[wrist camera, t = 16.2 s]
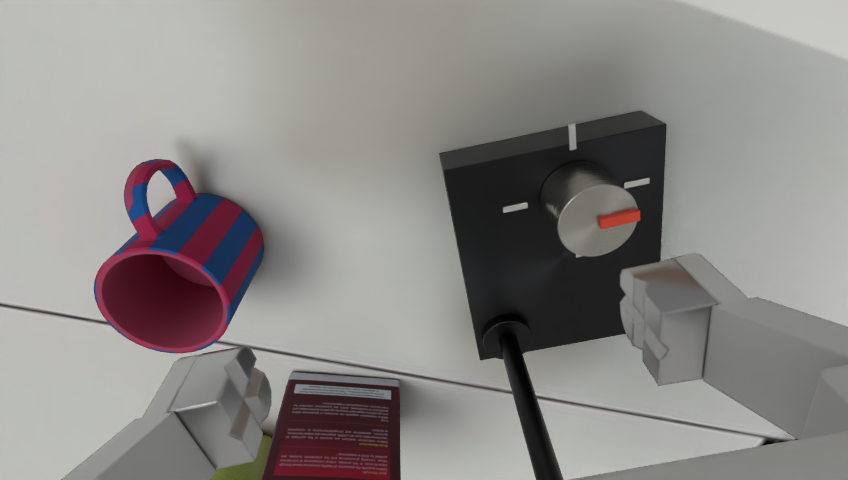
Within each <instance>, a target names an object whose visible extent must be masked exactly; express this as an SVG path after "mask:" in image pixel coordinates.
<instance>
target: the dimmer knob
mask: <svg viewBox="0 0 848 480" xmlns="http://www.w3.org/2000/svg"><path fill="white" fill-rule="evenodd" d="M540 205H541V209H542V212H543V213H544V215H545V217H546V218H547V220H548V222H549V223H550V225H551V226H552V228H553V230H554V231H555V233H556V234H557V236H558V238H559V239H560V241H561V242H562V244H563V245H564V246H565V247H566V248H567V249H568V250H569V251H571V252H572V253H575V254H577V255H580V256H586V257H594V256H600V255H604V254H607V253H609V252H612V251H613V250H615V249H617V248H618V247H620V246H621V245H622V244H623V243H624V242H625V241H626V240H627V239H628V238H629V237H630V236H631V234H632V232H633V231H634V229H635V226H636V223H637V221H640V210H639V209H638V208H637V204H636V202H635V199H634V198H633V196H632V195H631V194H630V193H629V192H628V191H627V190H626V189H625V188H623V187H622V186H621V185H620V184H619V183H618V182H617V181H616V180H615V179H614V178H612V177H611V176H610V175H609V174H608V173H607V172H606V171H605V170H604V169H603V168H601V167H600V166H598V165H597V164H594V163H592V162H587V161H576V162H571V163H568V164H566V165H563V166H561V167H560V168H558V169H557V170H555V171H554V172H553V173H552V174H551V175H550V176H549V177H548V178H547V180H546V181H545V183H544V185H543V187H542V190H541V194H540Z"/></svg>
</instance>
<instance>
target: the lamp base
mask: <svg viewBox="0 0 848 480" xmlns="http://www.w3.org/2000/svg"><path fill="white" fill-rule="evenodd" d="M665 145H666V124H665V123H664V122H662V121H660V120H658V119H656V118H654V117H652V116H650V115H648V114H646V113H644V112H642V111H638V112H633V113H628V114H624V115H619V116H614V117H609V118H605V119H600V120H595V121H591V122H586V123H581V124H576V125H575V123H571V124H568V126H567V127H562V128H557V129H553V130H548V131H543V132H539V133H534V134H529V135H524V136H520V137H515V138H510V139H505V140H501V141H496V142H491V143H487V144H482V145H477V146H472V147H468V148H463V149H458V150H453V151H449V152H444V153H440V154H439V155H440V160H441V165H442V171H443V176H444V181H445V186H446V191H447V196H448V201H449V206H450V211H451V216H452V221H453V226H454V232H455V237H456V242H457V247H458V252H459V257H460V262H461V267H462V272H463V277H464V282H465V287H466V293H467V298H468V303H469V308H470V313H471V318H472V323H473V328H474V333H475V338H476V343H477V348H478V352H479V357H480V360H484V359H490V358H495V357H493V356H491V355H490V354H489V353H488V352H487V351H486V350H485V348H484V345H483V340H482V331H483V328H484V326H485V325H486V324H487V323H488V322H489V321H490V320H491V319H493V318H494V317H496V316H499V315H503V314H514V315H518V316H520V317H522V318H523V319H525V320H526V321H527V323H528V324H529V327H530V329H531V332H532V336H533V339H532V343H531V346H530V347H529V349H528V350H527V351H526V352H528V351H534V350H539V349H545V348H550V347H555V346H561V345H566V344H572V343H577V342H583V341H588V340H594V339H599V338H605V337H610V336H616V335H621V334H626V332H625V330H624V327H623V323H622V319H621V315H620V302H621V300H622V299H623V298H624V296H625V295H626V294H625V292H624V291H623V290H622V288H621V287H620V274H621V270H622V269H627V268H631V267H636V266H641V265H646V264H651V263H655V262H660V254H661V232H662V211H663V189H664V167H665ZM576 161H587V162H592V163H594V164H597V165H598V166H600V167H601V168H603V169H604V170H605V171H606V172H607V173H608V174H609V175H610V176H611V177H612V178H614V179H615V180H616V181H617V182H618V183H619V184H620V185H621V186H622V187H623V188H625V189H626V190H627V191H628V192H629V193H630V194H631V195H632V196H633V198H634V199H635V202H636V204H637V208H638V209H639V210H640V221H637V223H636V226H635V229H634V231H633V232H632V234H631V236H630V237H629V238H628V239H627V240H626V241H625V242H624V243H623V244H622V245H621V246H620V247H618V248H617V249H615V250H613V251H612V252H609V253H607V254H604V255H600V256H594V257H586V256H580V255H577V254H575V253H572V252H571V251H569V250H568V249H567V248H566V247H565V246H564V245H563V244H562V242H561V241H560V239H559V238H558V236H557V234H556V233H555V231H554V230H553V228H552V226H551V225H550V223H549V222H548V220H547V218H546V217H545V215H544V213H543V212H542V209H541V205H540V194H541V190H542V187H543V185H544V183H545V181H546V180H547V178H548V177H549V176H550V175H551V174H552V173H553V172H554V171H555V170H557V169H558V168H560V167H561V166H563V165H566V164H568V163H571V162H576Z"/></svg>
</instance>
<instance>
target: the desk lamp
mask: <svg viewBox="0 0 848 480" xmlns="http://www.w3.org/2000/svg"><path fill="white" fill-rule="evenodd" d="M532 339H533V336H532V332H531V329H530V327H529V324H528V323H527V321H526V320H525V319H523V318H522V317H520V316H518V315H514V314H503V315H499V316H496V317H494V318H493V319H491V320H490V321H489V322H488V323H487V324H486V325H485V326H484V328H483V331H482V340H483V345H484V348H485V350H486V351H487V352H488V353H489V354H490V355H491V356H493V357H495V358H498V359H504V363H505V367H506V371H507V374H508V378H509V382H510V385H511V389H512V393H513V396H514V400H515V404H516V407H517V411H518V415H519V418H520V422H521V426H522V429H523V433H524V437H525V440H526V444H527V448H528V452H529V455H530V459H531V463H532V466H533V470H534V474H535V477H536V480H563V477H562V474H561V471H560V468H559V465H558V462H557V459H556V456H555V453H554V450H553V447H552V444H551V440H550V437H549V434H548V431H547V428H546V425H545V422H544V419H543V416H542V413H541V410H540V407H539V404H538V401H537V398H536V395H535V391H534V388H533V385H532V382H531V379H530V376H529V373H528V370H527V367H526V364H525V361H524V358H523V355H522V354H523V353H525V352H526V351H527V350H528V349H529V347H530V346H531V343H532Z"/></svg>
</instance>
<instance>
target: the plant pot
mask: <svg viewBox="0 0 848 480" xmlns="http://www.w3.org/2000/svg"><path fill="white" fill-rule="evenodd" d="M271 440H272V438H270V437H269V436H267V435H263V436H262V439H261V442H260V446H259V449H258V452H257V456H256V459H255V461H253V462H248V463H243V464H239V465H234V466H230V467H225V468H220V469H216V473H215V474H214V475H213V477H212V478H211V479H210V480H261V478H262V474H263V470H264V466H265V463H266V459H267V455H268V452H269V448H270V444H271Z"/></svg>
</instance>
